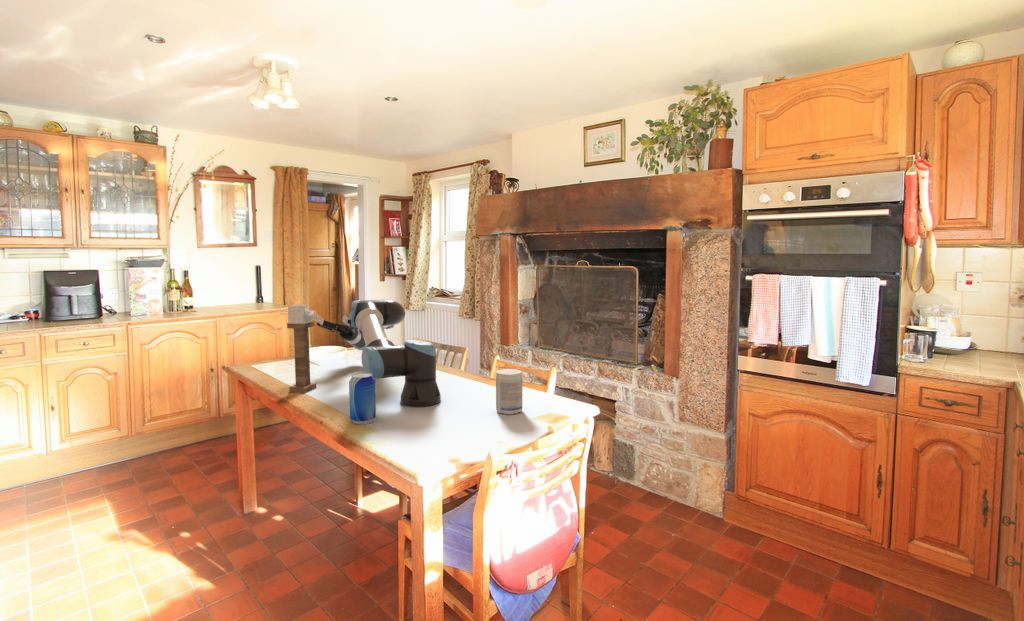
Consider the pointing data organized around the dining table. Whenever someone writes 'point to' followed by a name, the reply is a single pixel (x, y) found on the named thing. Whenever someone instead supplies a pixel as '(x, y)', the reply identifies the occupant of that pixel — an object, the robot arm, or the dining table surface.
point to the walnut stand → (302, 357)
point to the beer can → (362, 398)
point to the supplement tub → (509, 391)
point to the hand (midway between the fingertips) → (329, 317)
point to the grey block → (300, 314)
